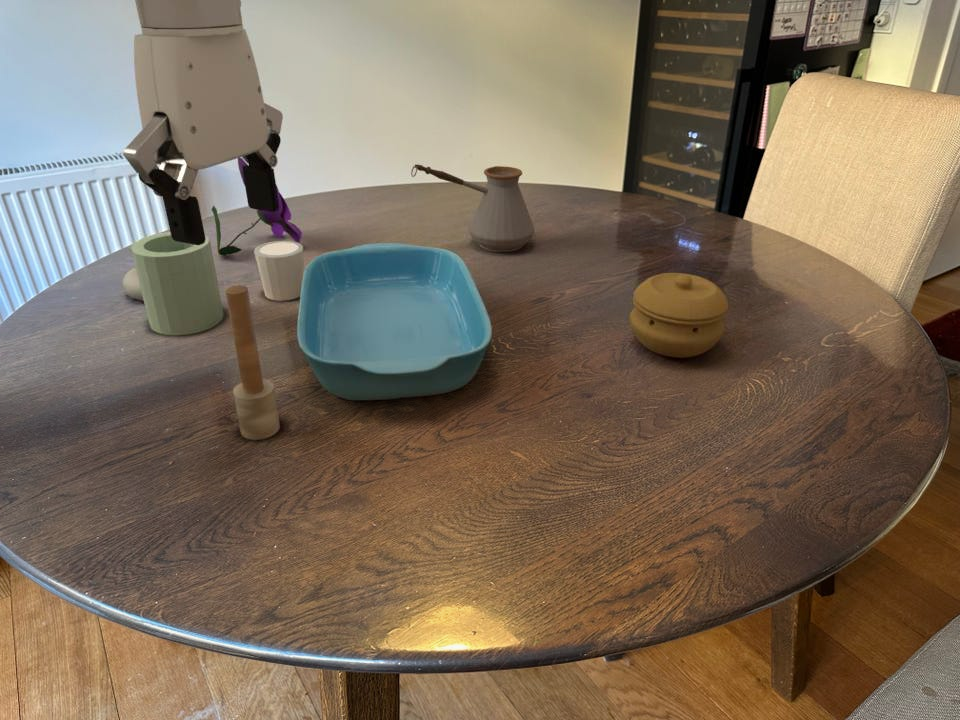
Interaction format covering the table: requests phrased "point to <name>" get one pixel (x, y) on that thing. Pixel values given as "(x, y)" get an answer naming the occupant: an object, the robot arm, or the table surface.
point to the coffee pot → (496, 209)
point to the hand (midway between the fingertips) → (229, 224)
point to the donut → (132, 285)
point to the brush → (250, 372)
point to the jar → (177, 284)
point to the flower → (274, 219)
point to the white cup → (280, 269)
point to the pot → (678, 314)
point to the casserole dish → (391, 321)
